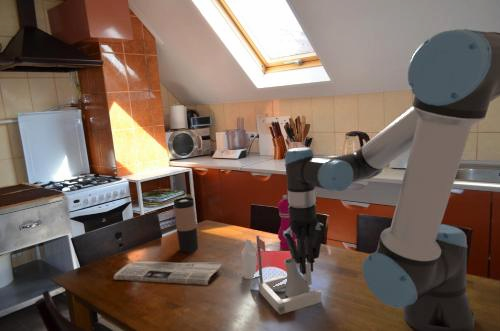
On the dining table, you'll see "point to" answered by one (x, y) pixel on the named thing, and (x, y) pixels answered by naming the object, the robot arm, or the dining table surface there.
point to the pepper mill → (284, 222)
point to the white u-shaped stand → (272, 297)
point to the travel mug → (186, 224)
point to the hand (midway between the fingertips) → (307, 282)
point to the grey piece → (249, 259)
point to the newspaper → (169, 272)
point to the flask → (294, 280)
